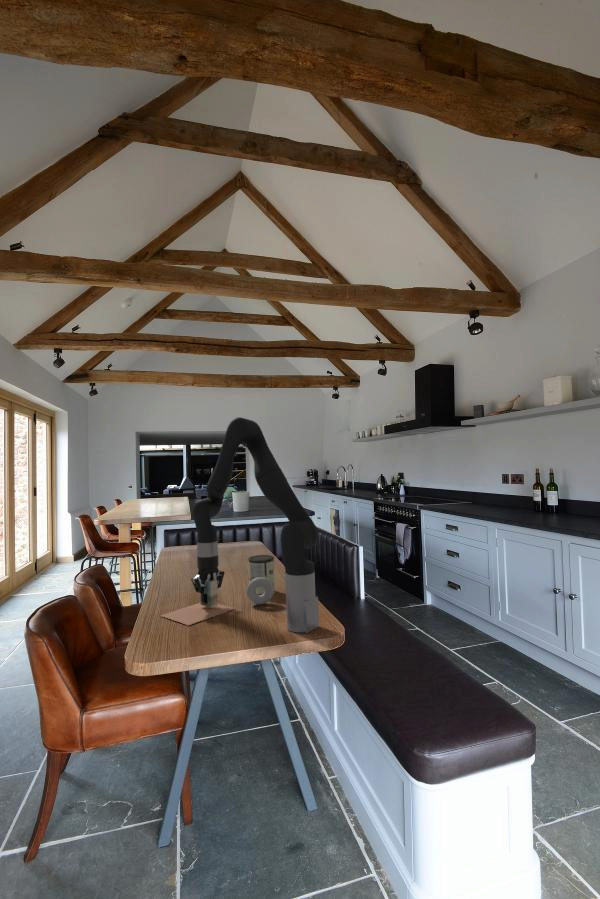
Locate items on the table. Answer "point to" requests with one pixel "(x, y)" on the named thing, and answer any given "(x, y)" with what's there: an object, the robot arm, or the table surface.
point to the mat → (196, 613)
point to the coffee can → (261, 570)
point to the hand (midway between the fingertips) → (209, 602)
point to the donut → (264, 597)
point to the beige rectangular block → (211, 594)
